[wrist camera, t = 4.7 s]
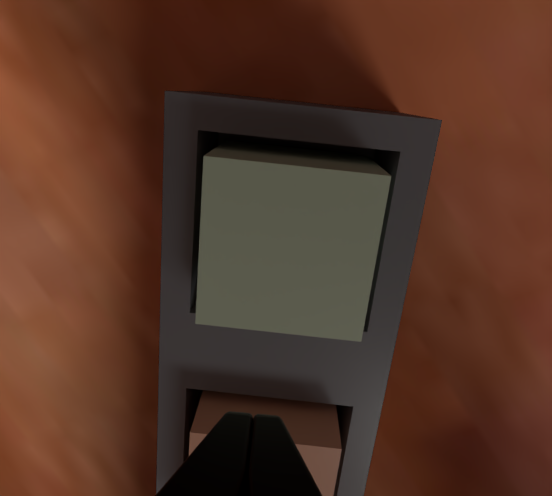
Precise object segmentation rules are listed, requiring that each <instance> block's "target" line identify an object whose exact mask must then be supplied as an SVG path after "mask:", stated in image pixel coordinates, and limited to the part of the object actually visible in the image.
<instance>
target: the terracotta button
mask: <svg viewBox="0 0 552 496" xmlns="http://www.w3.org/2000/svg"><path fill="white" fill-rule="evenodd" d="M229 411H232V412H243V413H250V414H252V416H253V418H254V416H255V415H256V414H266V415H277V416H279V417H281V419H282V420H283V422H284V424H285V426H286V428H287V430H288V431H289V433H290V435H291V437H292V439H293V441H294V443H295V445H296V447H297V449H298V450H299V452H300V454H301V456H302V458H303V460H304V462H305V464H306V466H307V467H308V469H309V471H310V473H311V475H312V477H313V479H314V481H315V483H316V484H317V486H318V488H319V490H320V492H321V494H322V496H333V495H334V489H335V484H336V478H337V473H338V467H339V462H340V456H341V451H342V447H341V439H340V432H339V424H338V416H337V409H336V405H335V404H325V403H316V402H307V401H298V400H289V399H280V398H271V397H262V396H253V395H244V394H235V393H226V392H216V391H207V390H203V392H202V395H201V398H200V402H199V405H198V408H197V411H196V414H195V418H194V421H193V424H192V427H191V430H190V441H189V455H190V454H191V453H192V452H193V451H194V449H195V448H196V447H197V446H198V445H199V444H200V442H201V441H202V440H203V439H204V438H205V436H206V435H207V434H208V433H209V432H210V431H211V429H212V428H213V427H214V426H215V425H216V424H217V422H218V421H219V420H220V419H221V418H222V416H223V415H224V414H225V413H227V412H229Z"/></svg>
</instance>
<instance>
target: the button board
mask: <svg viewBox="0 0 552 496" xmlns="http://www.w3.org/2000/svg"><path fill="white" fill-rule="evenodd" d="M441 122H442V120H438V119H432V118H427V117H421V116H416V115H410V114H405V113H399V112H389V111H380V110H370V109H361V108H352V107H342V106H333V105H323V104H314V103H305V102H295V101H286V100H276V99H267V98H257V97H248V96H239V95H229V94H220V93H210V92H198V91H165V106H164V152H163V199H162V246H161V292H160V339H159V385H158V432H157V478H156V494H157V493H158V492H159V491H160V489H161V488H162V487H163V486H164V485H165V483H166V482H167V481H168V480H169V479H170V478H171V476H172V475H173V474H174V473H175V472H176V471H177V469H178V468H179V467H180V466H181V465H182V464H183V462H184V461H185V460H186V459H187V458H188V456H189V441H190V430H191V427H192V424H193V421H194V418H195V414H196V411H197V408H198V405H199V402H200V398H201V395H202V392H203V390H207V391H216V392H226V393H235V394H244V395H253V396H262V397H271V398H280V399H289V400H298V401H307V402H316V403H325V404H335V405H336V409H337V416H338V424H339V432H340V439H341V447H342V451H341V456H340V462H339V467H338V473H337V478H336V484H335V489H334V495H333V496H364V491H365V486H366V481H367V476H368V472H369V467H370V462H371V457H372V453H373V448H374V443H375V438H376V433H377V429H378V424H379V419H380V414H381V409H382V405H383V400H384V395H385V390H386V386H387V381H388V376H389V371H390V366H391V362H392V357H393V352H394V347H395V342H396V338H397V333H398V328H399V323H400V319H401V314H402V309H403V304H404V299H405V295H406V290H407V285H408V280H409V275H410V271H411V266H412V261H413V256H414V252H415V247H416V242H417V237H418V232H419V228H420V223H421V218H422V213H423V208H424V204H425V199H426V194H427V189H428V184H429V180H430V175H431V170H432V165H433V161H434V156H435V151H436V146H437V141H438V137H439V132H440V127H441ZM225 141H235V142H244V143H253V144H263V145H272V146H281V147H291V148H300V149H309V150H319V151H328V152H338V153H347V154H356V155H366V156H369V157H370V158H371V159H372V160H373V161H374V162H376V163H377V164H378V165H379V166H380V167H381V168H383V169H384V170H385V171H386V172H387V173H388V174H390V175H391V181H390V187H389V192H388V198H387V203H386V209H385V214H384V220H383V225H382V231H381V236H380V242H379V247H378V253H377V258H376V264H375V269H374V275H373V280H372V286H371V291H370V297H369V302H368V308H367V313H366V319H365V324H364V330H363V335H362V341H361V342H358V341H349V340H339V339H330V338H321V337H312V336H303V335H294V334H284V333H275V332H266V331H257V330H248V329H239V328H230V327H220V326H211V325H202V324H195V319H196V298H197V278H198V258H199V237H200V217H201V197H202V176H203V156H204V155H206V154H207V153H209V152H210V151H212V150H213V149H214V148H216V147H217V146H219V145H220V144H222V143H223V142H225Z"/></svg>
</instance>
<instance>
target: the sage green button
mask: <svg viewBox="0 0 552 496" xmlns="http://www.w3.org/2000/svg"><path fill="white" fill-rule="evenodd" d="M390 181H391V175H390V174H388V173H387V172H386V171H385V170H384V169H383V168H381V167H380V166H379V165H378V164H377V163H376V162H374V161H373V160H372V159H371V158H370V157H369V156H366V155H356V154H347V153H338V152H328V151H319V150H309V149H300V148H291V147H281V146H272V145H263V144H253V143H244V142H235V141H225V142H223V143H222V144H220V145H219V146H217V147H216V148H214V149H213V150H212V151H210V152H209V153H207V154H206V155H204V156H203V176H202V197H201V217H200V237H199V258H198V278H197V298H196V319H195V324H202V325H211V326H220V327H230V328H239V329H248V330H257V331H266V332H275V333H284V334H294V335H303V336H312V337H321V338H330V339H339V340H349V341H358V342H361V341H362V335H363V330H364V324H365V319H366V313H367V308H368V302H369V297H370V291H371V286H372V280H373V275H374V269H375V264H376V258H377V253H378V247H379V242H380V236H381V231H382V225H383V220H384V214H385V209H386V203H387V198H388V192H389V187H390Z"/></svg>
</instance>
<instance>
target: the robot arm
mask: <svg viewBox="0 0 552 496" xmlns="http://www.w3.org/2000/svg"><path fill="white" fill-rule="evenodd" d="M155 496H322V494H321V492H320V490H319V488H318V486H317V484H316V483H315V481H314V479H313V477H312V475H311V473H310V471H309V469H308V467H307V466H306V464H305V462H304V460H303V458H302V456H301V454H300V452H299V450H298V449H297V447H296V445H295V443H294V441H293V439H292V437H291V435H290V433H289V431H288V430H287V428H286V426H285V424H284V422H283V420H282V419H281V417H279V416H277V415H266V414H256V415H255V416H254V418H253V416H252V414H250V413H243V412H232V411H229V412H227V413H225V414H224V415H223V416H222V418H221V419H220V420H219V421H218V422H217V424H216V425H215V426H214V427H213V428H212V429H211V431H210V432H209V433H208V434H207V435H206V436H205V438H204V439H203V440H202V441H201V442H200V444H199V445H198V446H197V447H196V448H195V449H194V451H193V452H192V453H191V454H190V455H189V456H188V458H187V459H186V460H185V461H184V462H183V464H182V465H181V466H180V467H179V468H178V469H177V471H176V472H175V473H174V474H173V475H172V476H171V478H170V479H169V480H168V481H167V482H166V483H165V485H164V486H163V487H162V488H161V489H160V491H159V492H158V493H157V494H156V495H155Z"/></svg>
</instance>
